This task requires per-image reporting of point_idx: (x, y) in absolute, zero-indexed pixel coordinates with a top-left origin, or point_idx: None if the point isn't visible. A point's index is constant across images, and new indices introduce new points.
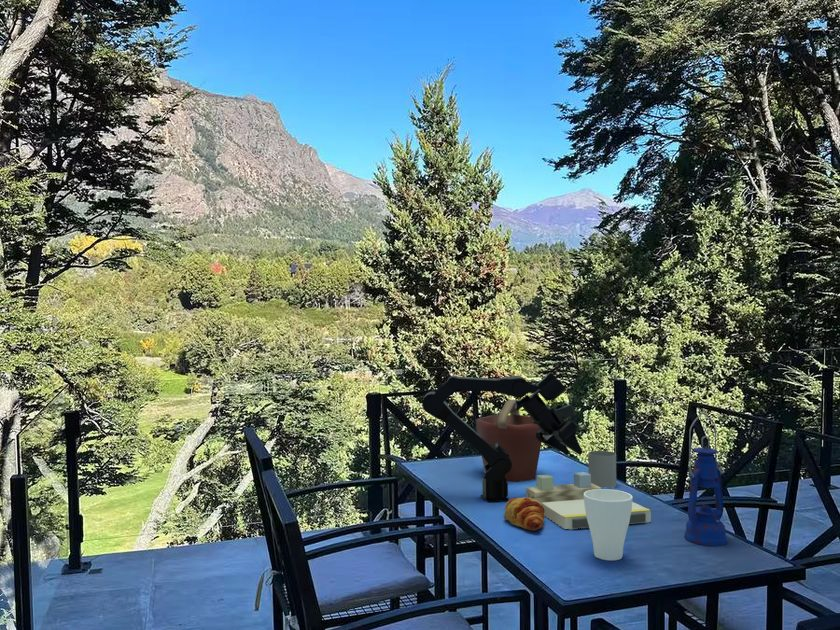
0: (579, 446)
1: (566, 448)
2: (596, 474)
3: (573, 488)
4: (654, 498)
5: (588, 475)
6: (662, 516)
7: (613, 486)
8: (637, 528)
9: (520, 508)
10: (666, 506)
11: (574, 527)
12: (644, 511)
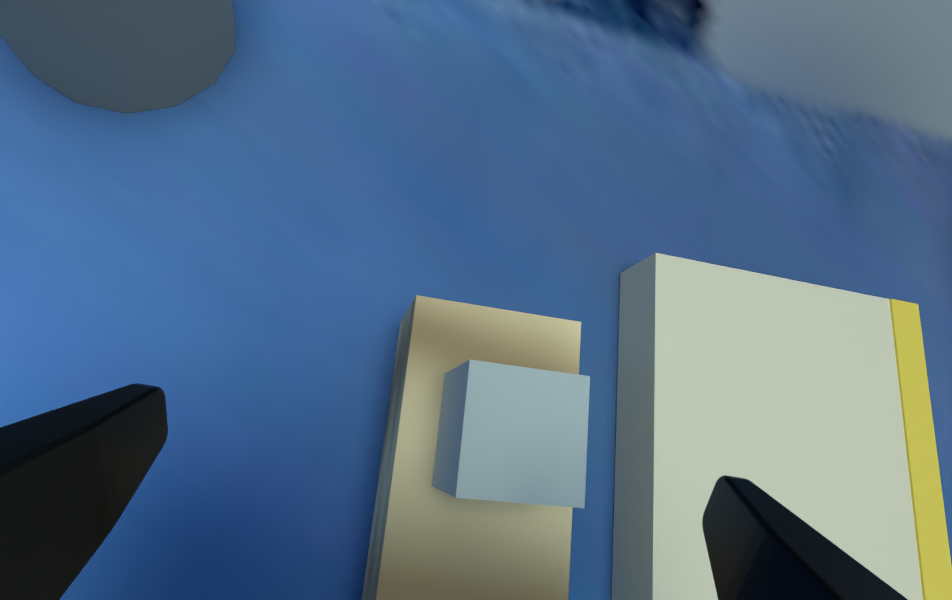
0: (868, 585)
1: (95, 442)
2: (138, 35)
3: (530, 556)
4: (530, 4)
5: (587, 404)
6: (793, 203)
7: (232, 8)
8: None
9: None
10: (666, 67)
11: None
12: (918, 341)
